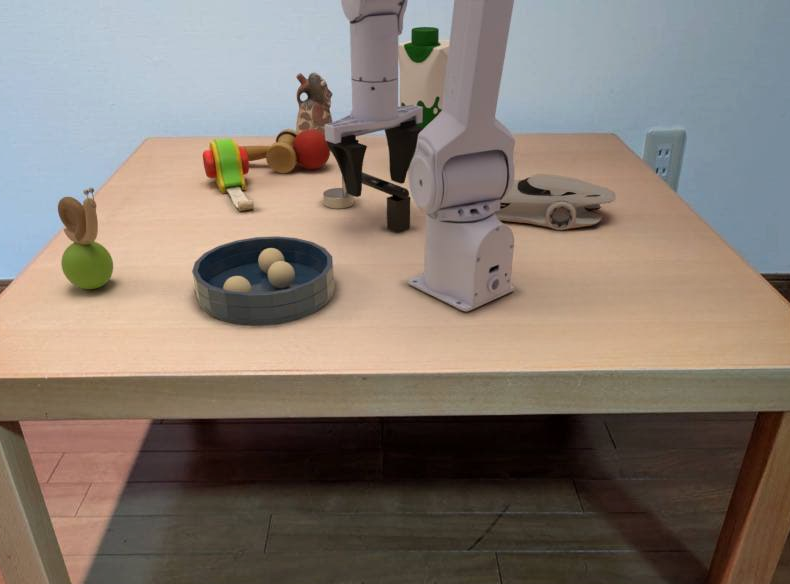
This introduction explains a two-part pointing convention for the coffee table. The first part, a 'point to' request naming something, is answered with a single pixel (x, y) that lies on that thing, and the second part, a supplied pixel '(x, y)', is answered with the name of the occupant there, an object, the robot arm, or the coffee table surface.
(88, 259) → the snail figurine
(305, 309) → the bowl
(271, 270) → the dumpling
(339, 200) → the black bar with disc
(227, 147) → the toy measuring tape
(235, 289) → the dumpling
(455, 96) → the robot arm
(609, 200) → the car model
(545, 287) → the coffee table surface
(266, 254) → the dumpling
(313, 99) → the figurine
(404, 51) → the milk carton
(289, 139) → the kendama
